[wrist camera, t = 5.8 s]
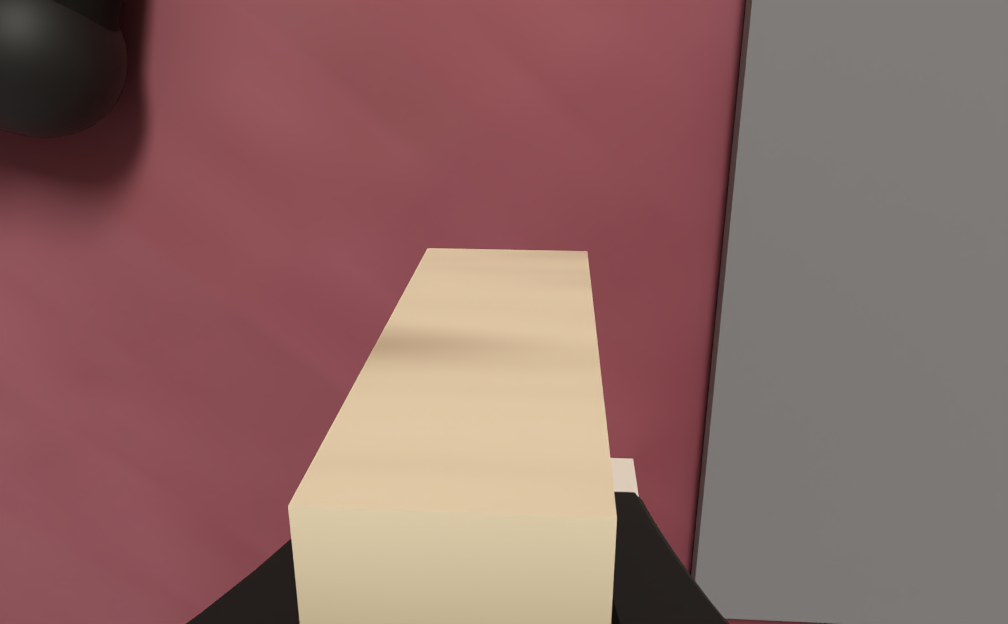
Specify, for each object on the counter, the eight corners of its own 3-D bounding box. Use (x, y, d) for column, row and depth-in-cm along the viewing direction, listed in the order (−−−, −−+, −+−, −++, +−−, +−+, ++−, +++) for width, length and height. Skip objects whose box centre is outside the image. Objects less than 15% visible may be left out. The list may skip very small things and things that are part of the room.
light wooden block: (574, 584, 15) (587, 1055, 8) (437, 579, 15) (340, 1035, 8) (587, 251, 13) (616, 518, 6) (427, 247, 13) (287, 505, 6)
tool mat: (1178, 624, 19) (1194, 640, 19) (688, 602, 20) (691, 616, 19) (1452, -179, 14) (1484, -186, 13) (763, -174, 14) (770, -180, 14)
